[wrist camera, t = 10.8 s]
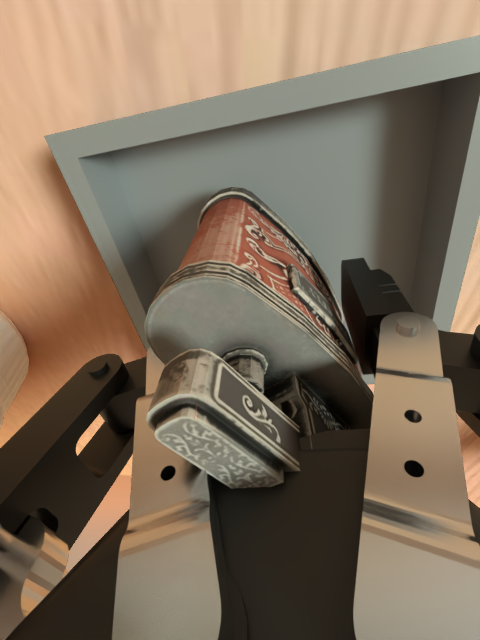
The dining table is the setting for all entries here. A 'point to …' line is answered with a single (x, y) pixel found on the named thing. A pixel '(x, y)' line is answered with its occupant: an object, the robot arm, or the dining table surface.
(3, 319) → the ramekin
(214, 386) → the lighter
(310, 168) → the tray
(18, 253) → the dining table surface
